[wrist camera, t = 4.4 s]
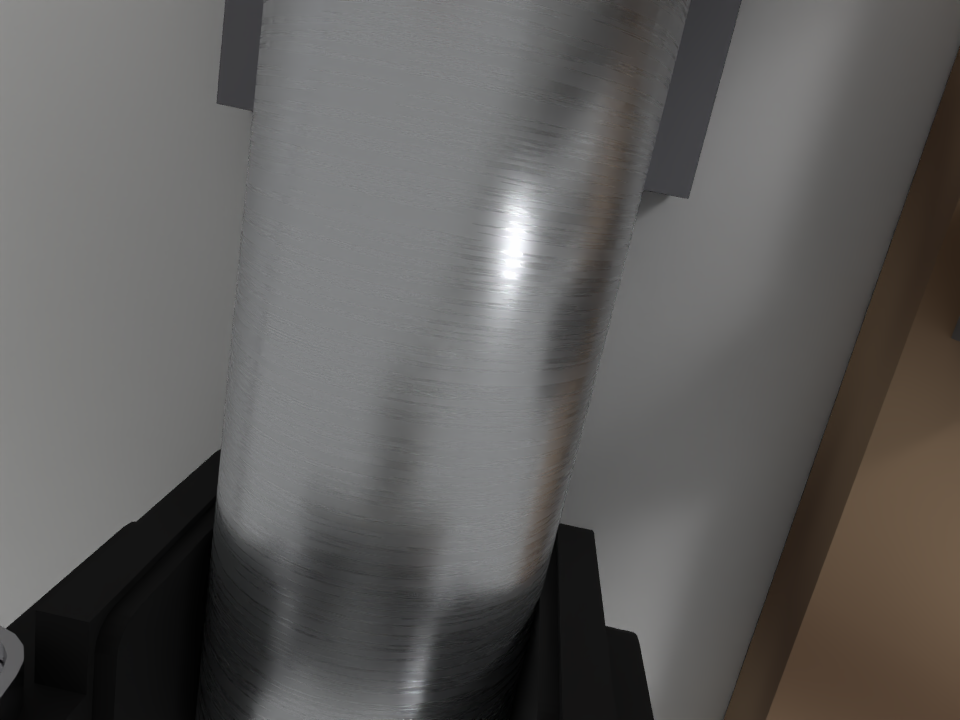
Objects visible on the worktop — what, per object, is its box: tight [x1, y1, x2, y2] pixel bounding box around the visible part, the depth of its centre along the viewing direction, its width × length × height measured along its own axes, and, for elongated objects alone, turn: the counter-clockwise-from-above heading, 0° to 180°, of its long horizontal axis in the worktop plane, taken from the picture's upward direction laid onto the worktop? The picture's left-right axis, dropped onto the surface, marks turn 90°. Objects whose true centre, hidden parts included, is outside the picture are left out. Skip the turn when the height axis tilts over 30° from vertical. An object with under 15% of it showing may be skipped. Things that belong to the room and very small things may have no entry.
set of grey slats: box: [217, 0, 742, 199], centre depth 11 cm, size 23×6×1 cm, turn 169°
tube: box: [195, 0, 691, 720], centre depth 9 cm, size 24×4×4 cm, turn 169°
